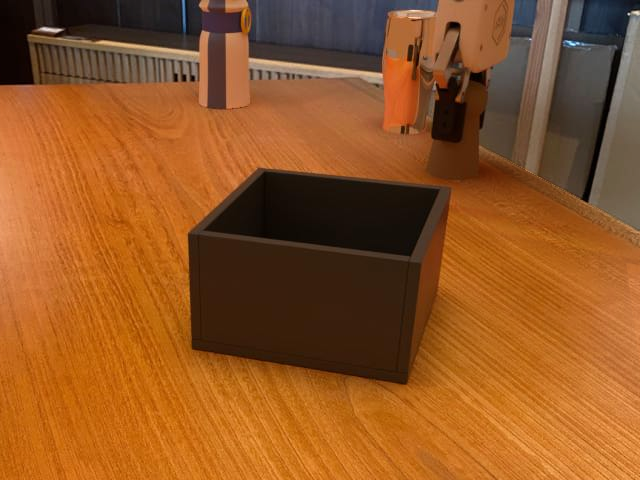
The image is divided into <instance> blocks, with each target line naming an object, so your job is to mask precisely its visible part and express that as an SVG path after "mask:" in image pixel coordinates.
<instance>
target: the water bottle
mask: <svg viewBox="0 0 640 480" xmlns="http://www.w3.org/2000/svg"><path fill="white" fill-rule="evenodd" d="M198 7H199V8H200V9H201V24H202V25H201V26H202V30H201V31H200V32H201V33H200V36H199V46H198V47H199V49H198V50H199V52H198V54H199V55H198V56H199V81H198V83H199V85H198V105H199V106H201V107H204V108H209V109H217V110H230V109H231V110H232V108H233V109H239V108H240V107H241V108H245V107H247V106H249V105H250V104H251V94H250V92H251V91H250V50H249V49H250V48H249V47H250V44H249V43H250V42H249V35H248V34H249V32H250V30H251V26H252V12H251V9H250V7H249V3H248V1H247V0H200V2H199V3H198ZM241 108H240V109H241Z"/></svg>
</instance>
